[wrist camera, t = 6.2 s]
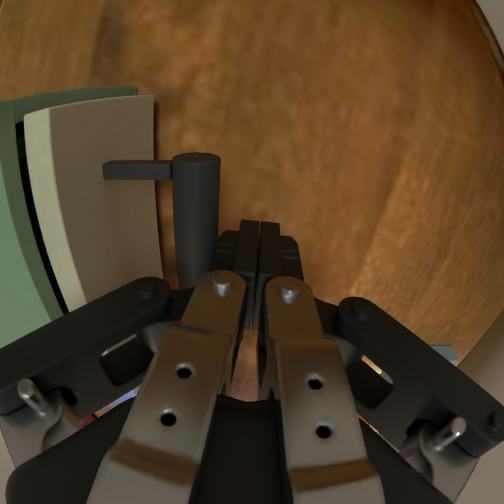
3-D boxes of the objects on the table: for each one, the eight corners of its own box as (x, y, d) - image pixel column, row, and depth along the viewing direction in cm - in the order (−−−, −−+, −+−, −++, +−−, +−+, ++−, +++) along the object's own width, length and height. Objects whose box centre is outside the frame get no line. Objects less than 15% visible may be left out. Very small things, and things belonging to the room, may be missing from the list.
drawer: (240, 94, 11) (203, 88, 5) (228, 286, 17) (208, 395, 11) (0, 125, 11) (-79, 162, 5) (27, 257, 17) (-26, 316, 11)
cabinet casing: (137, 85, 12) (-4, 102, 4) (149, 275, 19) (92, 390, 10) (-7, 122, 12) (-96, 164, 4) (19, 254, 19) (-41, 321, 10)
